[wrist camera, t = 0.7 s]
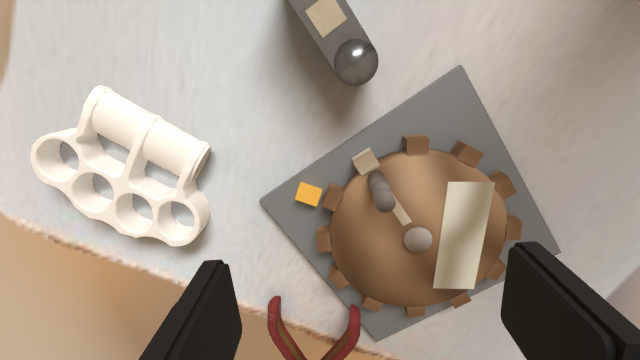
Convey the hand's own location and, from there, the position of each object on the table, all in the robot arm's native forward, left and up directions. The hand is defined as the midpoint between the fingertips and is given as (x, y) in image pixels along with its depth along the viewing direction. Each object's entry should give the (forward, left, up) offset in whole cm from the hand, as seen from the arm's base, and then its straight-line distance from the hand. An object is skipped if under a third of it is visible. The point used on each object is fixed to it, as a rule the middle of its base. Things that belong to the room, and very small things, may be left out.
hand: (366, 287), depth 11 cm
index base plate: (-1, +13, -23) cm, 26 cm away
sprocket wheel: (-1, +13, -23) cm, 26 cm away
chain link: (-5, -9, -23) cm, 26 cm away
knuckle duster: (+21, -9, -24) cm, 33 cm away
